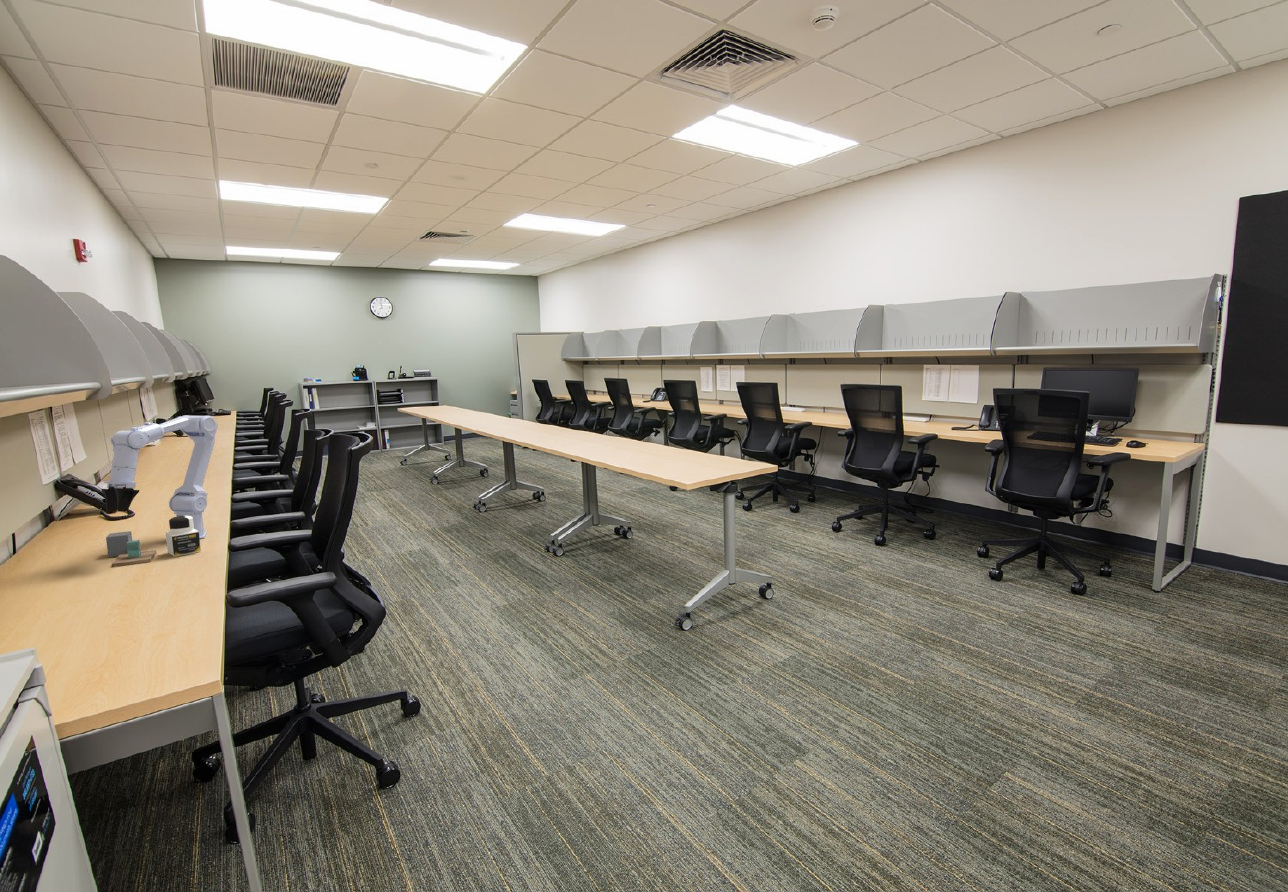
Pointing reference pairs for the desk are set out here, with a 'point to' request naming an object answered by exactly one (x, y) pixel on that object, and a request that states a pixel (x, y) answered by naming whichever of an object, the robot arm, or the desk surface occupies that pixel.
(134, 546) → the stand
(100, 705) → the desk surface
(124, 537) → the grey block
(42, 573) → the desk surface
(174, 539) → the medicine bottle
